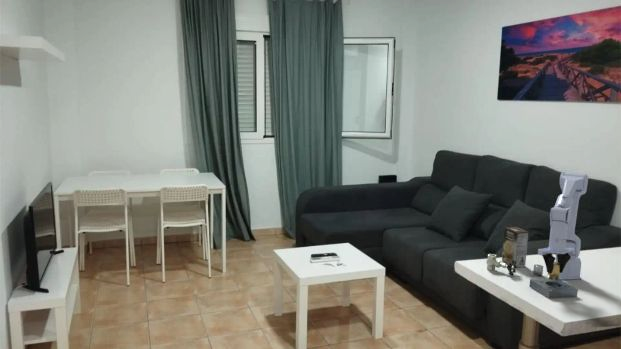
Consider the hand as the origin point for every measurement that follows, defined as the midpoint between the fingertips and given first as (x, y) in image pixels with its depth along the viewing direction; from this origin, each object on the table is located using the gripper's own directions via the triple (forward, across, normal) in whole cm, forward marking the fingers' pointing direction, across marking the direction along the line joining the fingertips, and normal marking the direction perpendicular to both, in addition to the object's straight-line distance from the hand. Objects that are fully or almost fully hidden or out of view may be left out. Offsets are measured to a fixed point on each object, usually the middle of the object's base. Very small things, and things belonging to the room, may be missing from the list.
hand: (554, 272), depth 195 cm
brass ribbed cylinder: (+3, 0, 0) cm, 3 cm away
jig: (+8, 0, 0) cm, 8 cm away
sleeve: (+8, +6, +18) cm, 21 cm away
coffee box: (+8, +4, +33) cm, 34 cm away
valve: (+8, -8, +24) cm, 26 cm away
